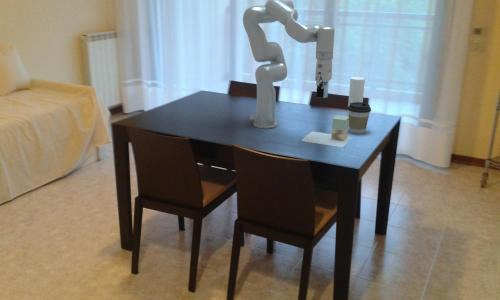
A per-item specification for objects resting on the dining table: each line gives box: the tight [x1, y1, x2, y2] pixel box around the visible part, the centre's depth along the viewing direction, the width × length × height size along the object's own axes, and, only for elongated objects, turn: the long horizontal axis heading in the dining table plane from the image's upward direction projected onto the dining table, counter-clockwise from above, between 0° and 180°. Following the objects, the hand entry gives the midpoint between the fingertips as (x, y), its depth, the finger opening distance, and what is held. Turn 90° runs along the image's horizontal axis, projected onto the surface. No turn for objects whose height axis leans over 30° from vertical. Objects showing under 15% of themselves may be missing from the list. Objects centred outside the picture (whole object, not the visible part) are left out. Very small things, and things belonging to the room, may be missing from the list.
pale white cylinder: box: [318, 82, 329, 99], centre depth 218 cm, size 5×5×6 cm
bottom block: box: [331, 127, 349, 141], centre depth 228 cm, size 6×6×5 cm
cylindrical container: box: [346, 76, 366, 128], centre depth 248 cm, size 7×7×25 cm
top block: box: [331, 115, 349, 131], centre depth 226 cm, size 6×6×5 cm
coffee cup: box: [347, 102, 372, 134], centre depth 237 cm, size 11×11×15 cm
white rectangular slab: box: [300, 130, 352, 148], centre depth 227 cm, size 20×16×2 cm
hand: (321, 95), depth 219 cm, fingers closed on pale white cylinder, 4 cm apart
